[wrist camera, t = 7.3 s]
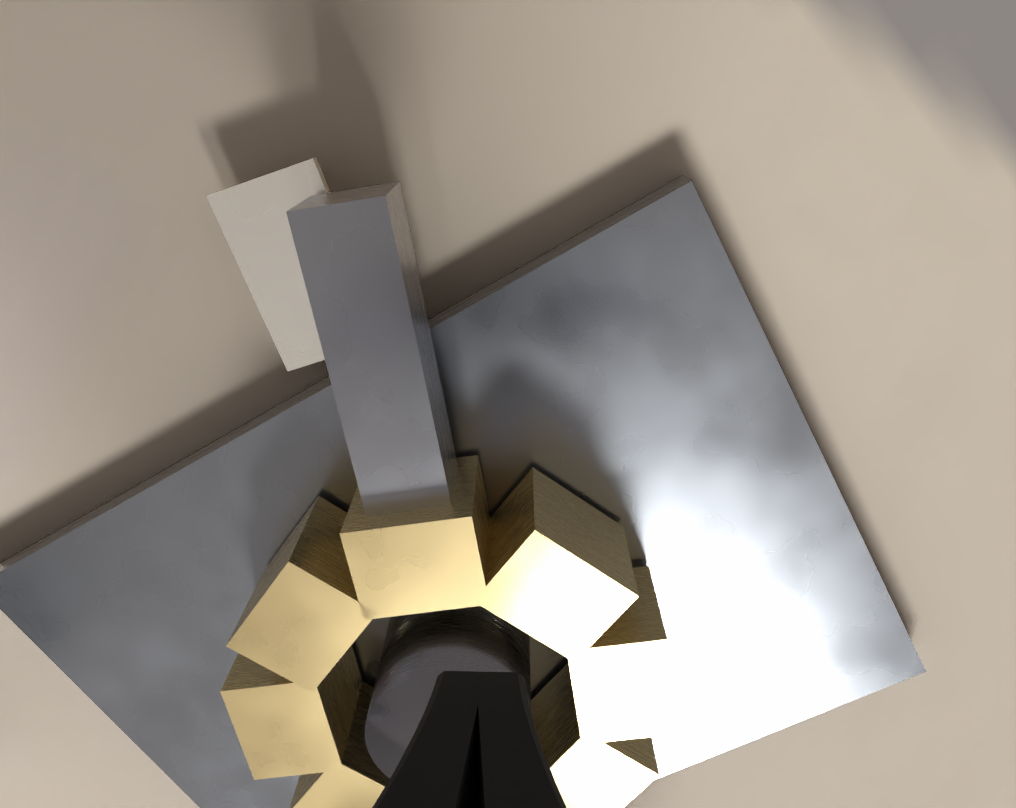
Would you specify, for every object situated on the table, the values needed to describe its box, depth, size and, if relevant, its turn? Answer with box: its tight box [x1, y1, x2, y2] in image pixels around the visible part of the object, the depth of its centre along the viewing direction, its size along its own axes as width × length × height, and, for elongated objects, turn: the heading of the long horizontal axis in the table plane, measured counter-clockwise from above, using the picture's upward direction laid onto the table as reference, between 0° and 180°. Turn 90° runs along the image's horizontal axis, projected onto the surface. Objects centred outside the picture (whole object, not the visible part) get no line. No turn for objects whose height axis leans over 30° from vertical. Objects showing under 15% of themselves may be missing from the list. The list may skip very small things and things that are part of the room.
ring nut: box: [220, 181, 677, 808], centre depth 20 cm, size 18×11×3 cm, turn 9°
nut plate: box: [0, 157, 926, 808], centre depth 21 cm, size 21×22×5 cm
